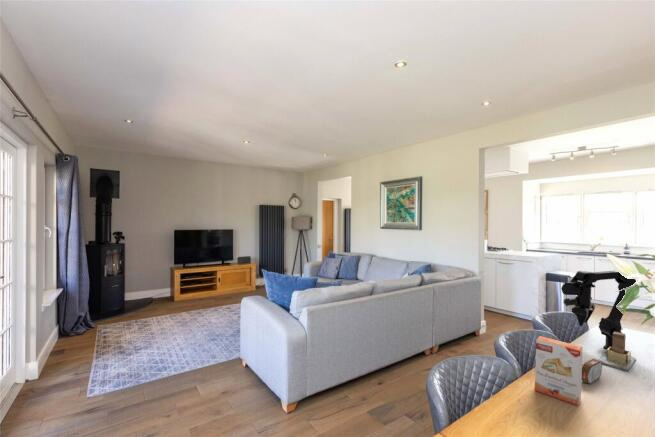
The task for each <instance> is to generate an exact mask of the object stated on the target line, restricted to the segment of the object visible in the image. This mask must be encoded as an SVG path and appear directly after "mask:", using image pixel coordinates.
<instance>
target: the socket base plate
mask: <svg viewBox="0 0 655 437" xmlns="http://www.w3.org/2000/svg"><path fill="white" fill-rule="evenodd" d="M631 352H632V351H630V350H627V349H625V354H621V353H617V352H614V351H612V347H611V346H610V347H609V348H608V349H606V350H605V351H604V352H603V353H602V354H601V355H600V356H599V358H597V360H598V361H600V362H602V365H604V366H608V367H611V368H614V369H616V370H617V369H618V370H620V371H624V372H629V371H630V370H631V368H632V366H634V363H635V362H636V361H637V358H636V357H634V356H632V355H631V354H632V353H631Z"/></svg>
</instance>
